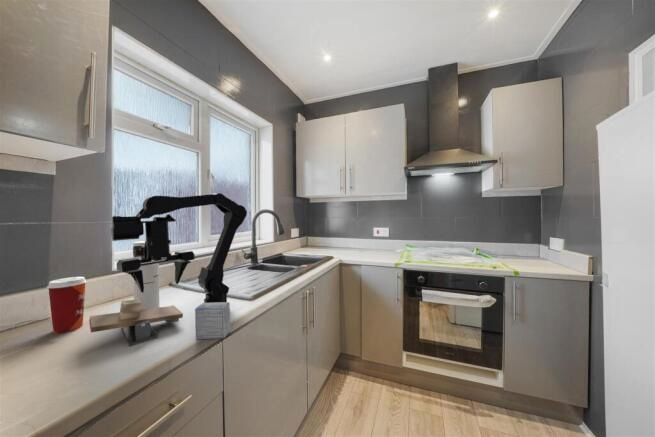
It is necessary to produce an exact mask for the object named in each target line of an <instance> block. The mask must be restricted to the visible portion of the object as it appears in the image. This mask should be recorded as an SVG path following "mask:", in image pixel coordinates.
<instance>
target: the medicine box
mask: <svg viewBox="0 0 655 437" xmlns="http://www.w3.org/2000/svg"><path fill="white" fill-rule="evenodd" d="M230 307H231V306H230V302H228V301H227V302H215V303H204V302H202V303H201V304H200V305H198V306H197V307H196V308H194V317H195V318H194V320H195V325H194V326H195V340H206V339H207V340H211V339H212V340H213V339H225V338H226V337H227V336H228V334H229V332H231V314H230V312H231V310H230Z"/></svg>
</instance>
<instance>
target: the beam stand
mask: <svg viewBox="0 0 655 437" xmlns="http://www.w3.org/2000/svg"><path fill="white" fill-rule="evenodd" d="M121 329H122V333H123V335H124V337H125V340H126V343H127V345H128V346H129V347H133V346H136V345H140V344H142V343H146V342H148V341H151V340H154V339H157V338H158V334H157V331H155V329H154V328H153V326H152V325H151V323H150V321H149V320H148V321H144V322H140V323H136V324H135V326H128V327H122V328H121Z"/></svg>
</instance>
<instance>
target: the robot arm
mask: <svg viewBox="0 0 655 437" xmlns="http://www.w3.org/2000/svg"><path fill="white" fill-rule="evenodd" d="M210 205H213V206H215V208H217V209H218V210H219V211H220V212H222V213H223V227H222V230H221V233H220V235H219V238H218V241H217V244H216V247H215V249H214V251H213V254H212V257H211V259H210V262H209V263H208V265H207V266H206V267H204V266H201V268H200V273H199V274H198V276H197V277H196V278H197V279H198V281H197V282H198V285H199V287H201V289H203V290H204V292H205V298H204V299H203V303H215V302H228V294H229V290H230V287H229V286H228V285H226V284H225V283H224V282H223V281H224V276H225V275H224V265H225V263H226V259H227V257H228V255H229V252H230V248H231V246H232V244H233V240H234V238H235V235H236V233H237V230H238V229H239V227H240V226H242V224H243V222H244V221H245V219H246V217H247V215H248V211H247V209H246V207H245V206H244V205H241V204H238V203H237V202H236V201H234V200H232V199H230V198H228V197H227V196H226V195H224V194H222V193H221V192H217V193H212V194H201V195H192V196H181V197H180V196H179V197H178V196H169V195H168V196H167V195H153V196H149V197H147V198H145V200H144V201H143V202H142V208H141V210H139V212H138V213H136V215H134V216H121V215H118V216H117V215H116V216H115V215H114V216H112V217H111V220H112V221H111V227H110V233H111V235H110V236H111V239H112V242H118V241H129V240H130V241H131V240H138V239H140V237H141V236H143V235H144V234H145V240H144V241H145V246H144V247H142V246H134V247H132V254H133V255H132V257H131V258H123V259H118V261H117V262H116V270H117V271H118V272H121V273H124V274H127V275H130V276H131V277H132V279H133V281H134V280H135V282H136V284H137V286H138V288H139V290H140V292H142V293H143V292H144V283H143V274H142V270H140V269H139V268H140V267H141V266H144V265H150V264H155V263H159V264H161V263H166V262H172V261H173V265H174V282H175V284H176V285H178V284H179V283H180V280H181V278H182V277H183V274H184V272H185V270H186V267H187V266H188V265H189V264H191V262H192V261H194V260H196V258H195V253H194V251H192V250H187V249H186V250H180V251H175V252H174V254H172V253H171V249H170V244H171V243H172V242H171V241H172V240H171V239H170V232H169V223H170V222H174V223H175V222H176V218H173V216H171V214H170V213H171V212H175V211H179V210H181V209H185V208H194V207H202V206H203V207H204V206H210ZM168 213H169V214H168ZM164 214H166V215H165V216H161V215H164ZM153 216H154V217H153ZM152 217H153V218H152ZM151 218H152V220H148V219H151ZM142 219H143V221H142ZM144 219H147V220H144ZM144 231H145V233H144ZM133 256H134V257H141V259H142V260H139V259H136V258H133ZM151 260H153V261H151Z"/></svg>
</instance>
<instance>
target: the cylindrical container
mask: <svg viewBox="0 0 655 437" xmlns="http://www.w3.org/2000/svg"><path fill="white" fill-rule="evenodd" d="M145 241H146V240H144V241H143V240H141V241H140V240H139V241H134V242H133V243H132V246H133V247H134V246H142V247H144V246H145ZM133 247H132V248H133ZM132 258H136V259H139V260H142V259H141V257H134V256H133V255H132ZM151 261H153V260H151ZM159 266H160V263H155V264H150V265H144V266H141V267H140V268H139V269H140V270H142V274H143V283H144V292H143V293H142V292H140V290H139V288H138V286H137V284H136V282H135V280H134V279H133V300H137V299H139V300H140V301H141V302H142V304H141V310H143V309H151V308H159V307H160V270H159V269H160V267H159Z"/></svg>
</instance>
